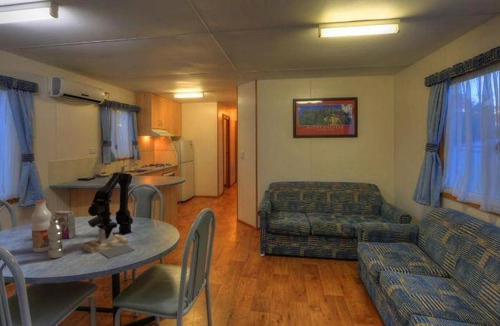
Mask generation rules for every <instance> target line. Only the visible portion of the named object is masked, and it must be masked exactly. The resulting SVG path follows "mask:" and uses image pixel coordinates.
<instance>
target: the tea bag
mask: <svg viewBox="0 0 500 326" xmlns="http://www.w3.org/2000/svg"><path fill="white" fill-rule="evenodd" d="M103 228H104V227H103ZM113 235H114V231H113V230H112V231H111V234H110V236H109V238H108V239H106V235H105V231H104V230H103V229H102V228H99V227H98V236H97V239H99V244H102V243H106V242H110V241H113Z"/></svg>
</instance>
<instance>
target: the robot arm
mask: <svg viewBox="0 0 500 326" xmlns="http://www.w3.org/2000/svg"><path fill="white" fill-rule="evenodd" d="M132 179H133V176H132V175H131V173H128V172H126V173H123V172H113V173H112V176H111V177H110V179H109V180H108V182H107V183H106V184H105V185H104V186H102V187H100V188H99V189H98V190H97V191H96V192H95V195H94V197H93V200H92V203H91V206H89V207H88V209H87V211H88V212H87V213H88V214H89V215H90V217H91V216H92V218H91V219H89V220H88V221H87V223H88V225H89V227H91V228H95V227H97V228H98V229H99V228H102V229H103V230H104V231H105V235H106V239H108V238H109V236H110V234H111V231H113V230H114V229H116V228H118V234H119V235H121V236H122V235H126V234H132V233H133V231H132V224H133V222H134V219H133V217H132V216H131V212H130V210H129V208H128V206H129V205H128V203H129V186H130V185H131V183H132ZM117 185H119V189H120V190H119V209H118V211H116V212H115V221H116V222H115V221H113V220H112V219H111V215H112V212H111V208H110V203H111V202H112V200H111V198H112V195H113V190H114V189H115V187H116V186H117ZM95 216H96V217H95ZM118 225H119V226H118ZM103 227H104V228H103Z"/></svg>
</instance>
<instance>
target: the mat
mask: <svg viewBox="0 0 500 326" xmlns="http://www.w3.org/2000/svg"><path fill="white" fill-rule="evenodd" d="M134 251H136V249H135V248H133V247H131V246H129V245H127V244H123V245H119V246H116V247H112V248H109V249H106V250H102V251H99V254H101V255H103V256H104V257H107V258H108V259H111V258H114V257H119V256H121V255H124V254H127V253H130V252H134Z"/></svg>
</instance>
